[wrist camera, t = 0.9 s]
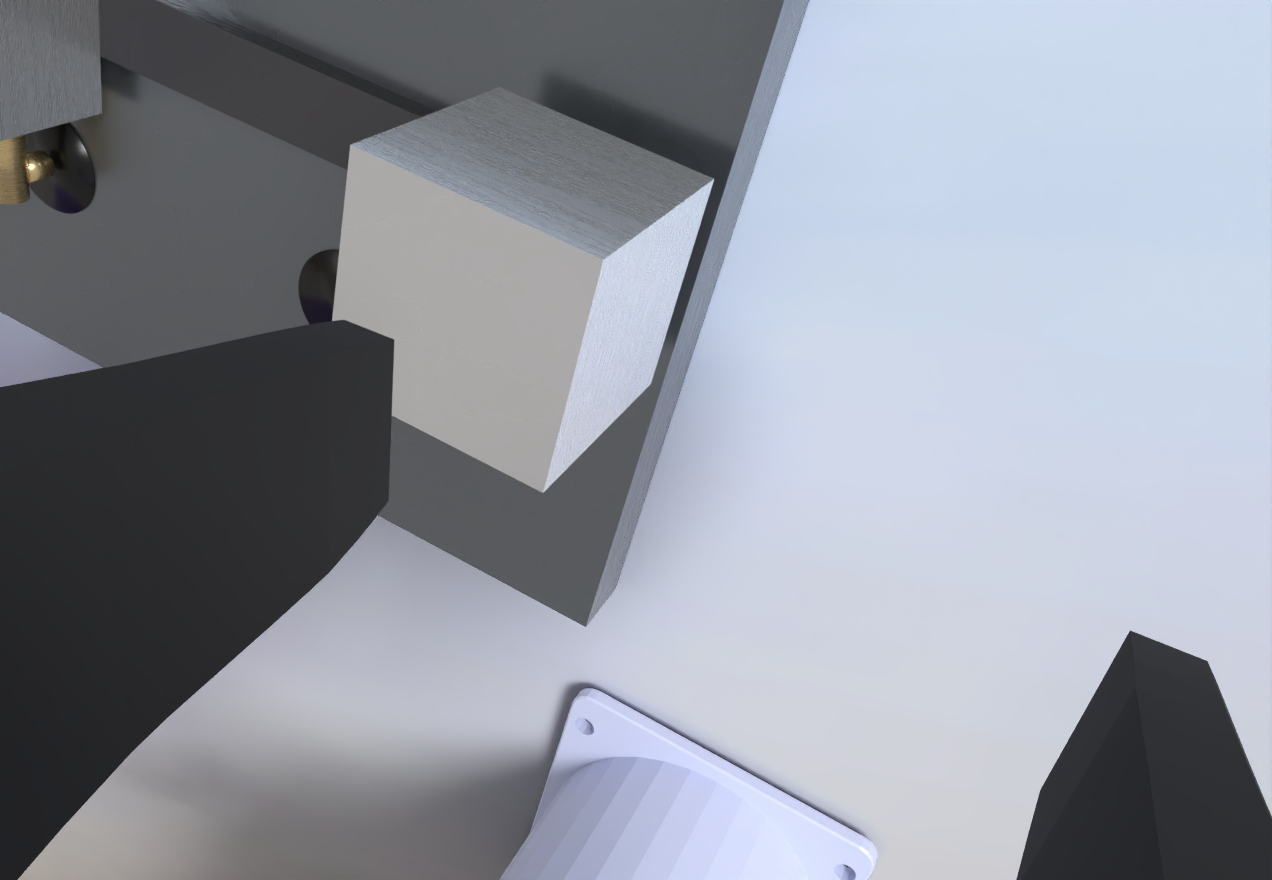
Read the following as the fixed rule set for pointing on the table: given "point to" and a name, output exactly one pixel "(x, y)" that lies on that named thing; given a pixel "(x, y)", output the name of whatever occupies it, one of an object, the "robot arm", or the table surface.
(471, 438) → the sliding block
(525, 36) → the bolt plate
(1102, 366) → the table surface
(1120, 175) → the table surface
